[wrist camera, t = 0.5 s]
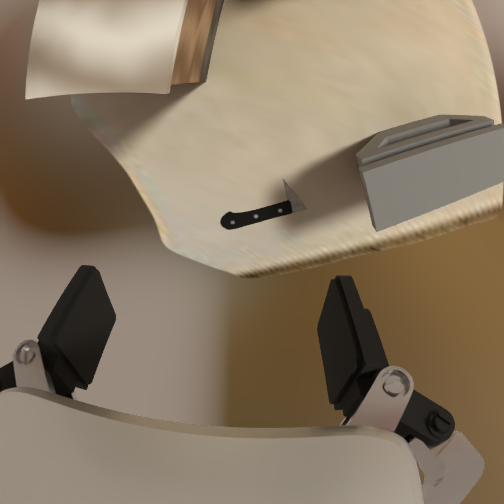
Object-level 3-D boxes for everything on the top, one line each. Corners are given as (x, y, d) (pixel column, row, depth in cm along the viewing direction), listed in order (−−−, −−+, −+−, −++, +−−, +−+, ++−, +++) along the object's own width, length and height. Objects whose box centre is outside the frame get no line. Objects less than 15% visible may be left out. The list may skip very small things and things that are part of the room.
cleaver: (204, 175, 39) (225, 233, 44) (203, 177, 38) (225, 235, 44) (398, 135, 34) (401, 195, 40) (400, 136, 34) (403, 196, 39)
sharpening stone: (467, 107, 29) (513, 125, 21) (473, 151, 34) (514, 176, 25) (335, 146, 36) (362, 172, 27) (350, 193, 40) (376, 231, 31)
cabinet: (138, -30, 19) (65, -75, 4) (236, -31, 21) (221, -105, 5) (115, 80, 30) (21, 100, 14) (209, 85, 31) (165, 94, 15)
